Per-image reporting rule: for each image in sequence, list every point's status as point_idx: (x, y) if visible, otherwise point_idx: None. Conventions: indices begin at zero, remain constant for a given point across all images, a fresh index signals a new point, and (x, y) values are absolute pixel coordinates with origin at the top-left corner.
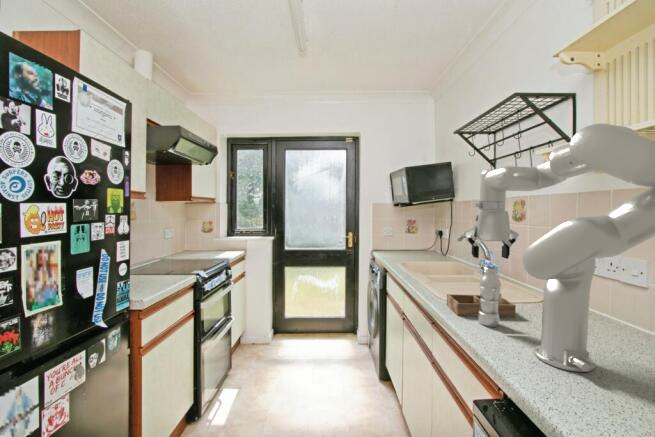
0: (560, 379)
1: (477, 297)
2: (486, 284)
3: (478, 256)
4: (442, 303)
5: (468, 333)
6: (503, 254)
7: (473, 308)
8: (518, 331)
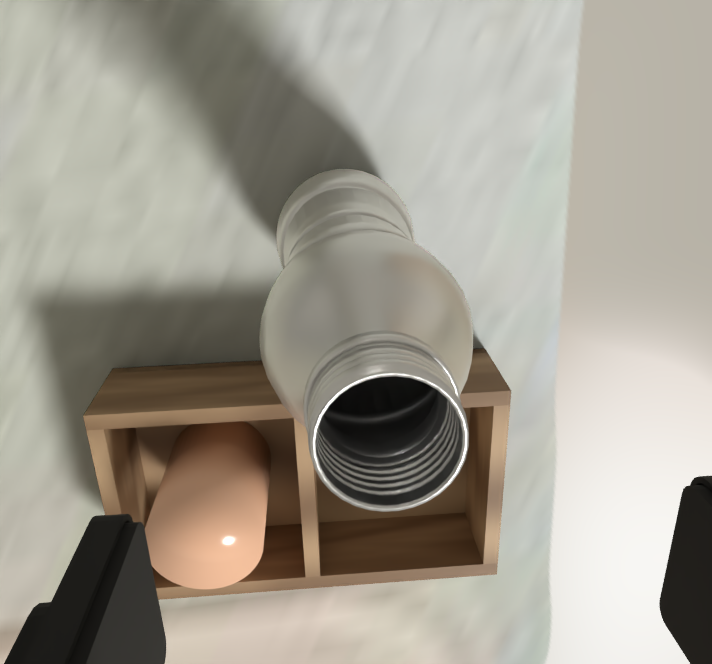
0: None
1: (286, 569)
2: (443, 268)
3: (701, 495)
4: None
5: (533, 77)
6: (143, 647)
7: None
8: (178, 153)
